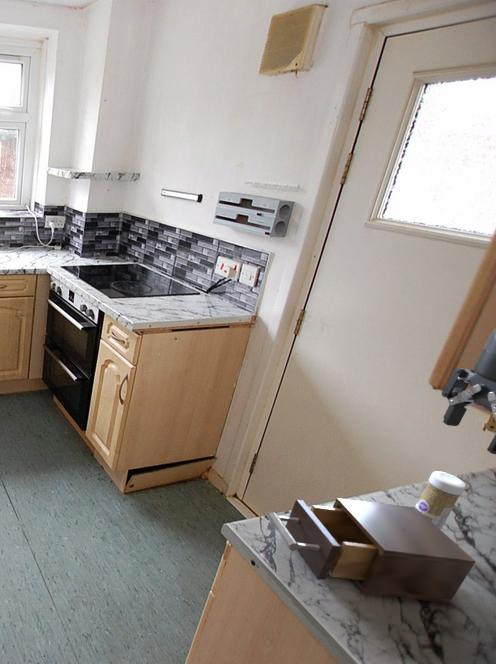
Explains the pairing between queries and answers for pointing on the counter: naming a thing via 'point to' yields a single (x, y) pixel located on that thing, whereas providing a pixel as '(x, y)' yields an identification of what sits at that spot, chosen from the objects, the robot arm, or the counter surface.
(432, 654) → the counter surface
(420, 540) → the cabinet
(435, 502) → the sprinkles bottle
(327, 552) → the drawer
